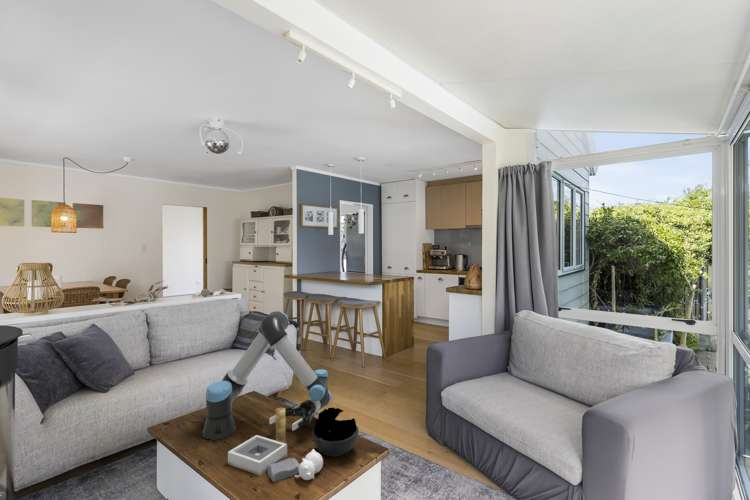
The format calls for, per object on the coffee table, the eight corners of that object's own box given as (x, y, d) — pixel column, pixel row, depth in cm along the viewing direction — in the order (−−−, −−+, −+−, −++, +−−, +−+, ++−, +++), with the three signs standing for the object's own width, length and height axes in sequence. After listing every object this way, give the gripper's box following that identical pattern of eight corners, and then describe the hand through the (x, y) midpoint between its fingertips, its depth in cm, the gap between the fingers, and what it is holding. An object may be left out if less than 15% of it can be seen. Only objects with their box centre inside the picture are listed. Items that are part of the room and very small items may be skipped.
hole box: (228, 463, 154) (227, 451, 154) (256, 445, 168) (256, 434, 168) (259, 475, 146) (259, 462, 146) (287, 455, 160) (287, 444, 160)
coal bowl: (336, 437, 175) (335, 397, 175) (368, 451, 162) (367, 408, 163) (303, 455, 160) (302, 412, 160) (335, 472, 147) (335, 425, 147)
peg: (273, 445, 168) (273, 410, 168) (280, 441, 172) (280, 406, 172) (281, 447, 166) (280, 412, 166) (287, 443, 170) (287, 408, 170)
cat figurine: (304, 460, 139) (319, 443, 151) (284, 470, 143) (301, 453, 154) (316, 481, 138) (330, 463, 149) (295, 491, 141) (311, 473, 152)
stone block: (265, 476, 148) (272, 484, 140) (265, 463, 149) (272, 470, 141) (294, 468, 155) (302, 475, 146) (293, 455, 156) (302, 461, 147)
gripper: (330, 419, 182) (302, 438, 163) (290, 409, 193) (260, 426, 175) (329, 403, 182) (302, 421, 163) (290, 395, 194) (260, 411, 175)
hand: (281, 424), depth 169 cm, fingers open, 13 cm apart
